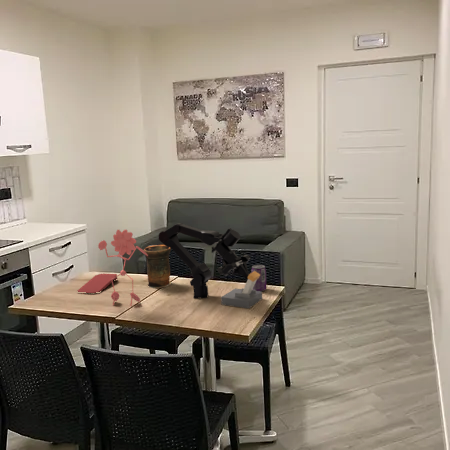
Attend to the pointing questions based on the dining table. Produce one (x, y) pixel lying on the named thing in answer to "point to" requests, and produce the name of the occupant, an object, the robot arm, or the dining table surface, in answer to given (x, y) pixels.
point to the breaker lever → (250, 282)
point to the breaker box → (241, 298)
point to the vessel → (158, 266)
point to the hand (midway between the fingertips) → (249, 278)
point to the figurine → (122, 245)
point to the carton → (98, 283)
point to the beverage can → (261, 281)
